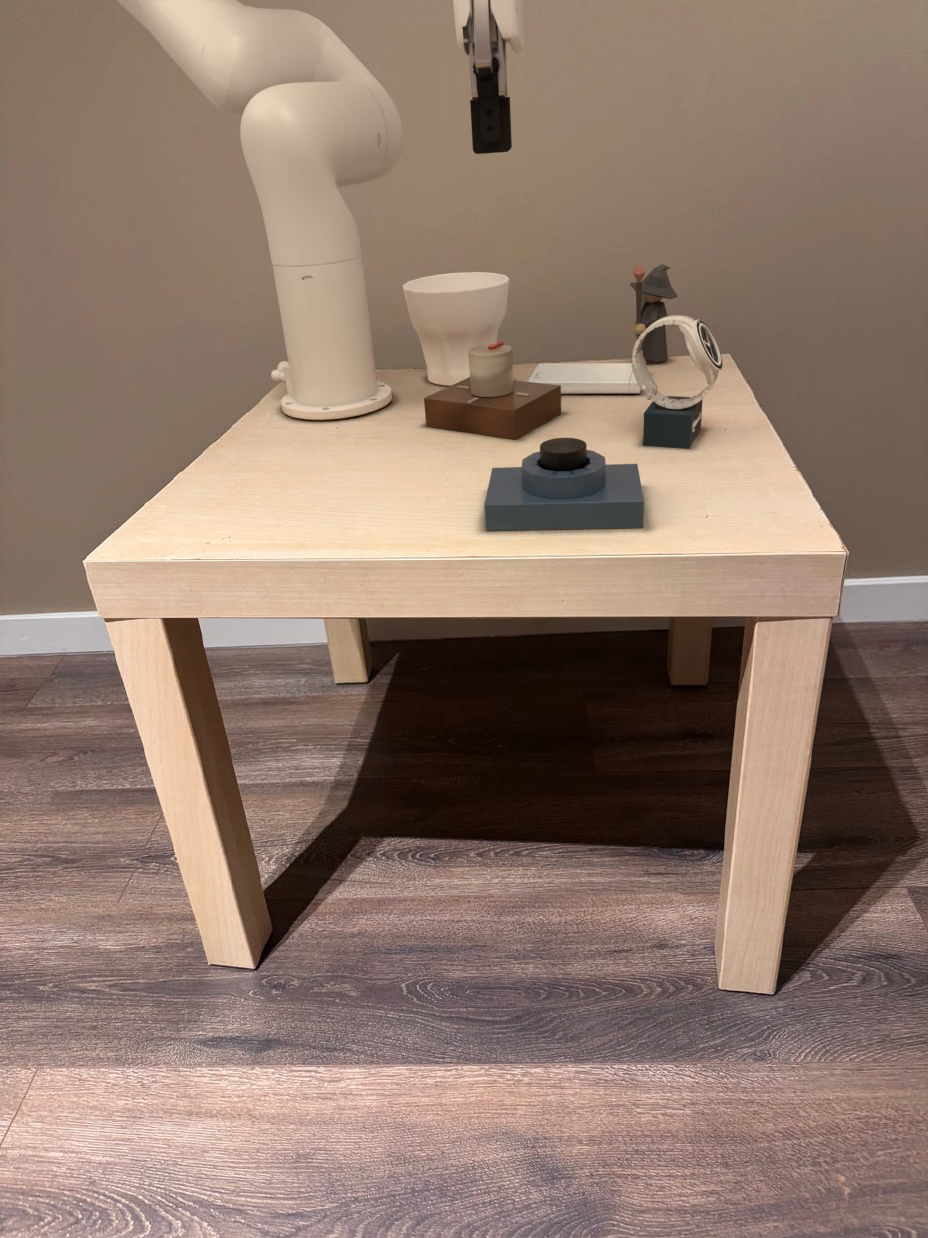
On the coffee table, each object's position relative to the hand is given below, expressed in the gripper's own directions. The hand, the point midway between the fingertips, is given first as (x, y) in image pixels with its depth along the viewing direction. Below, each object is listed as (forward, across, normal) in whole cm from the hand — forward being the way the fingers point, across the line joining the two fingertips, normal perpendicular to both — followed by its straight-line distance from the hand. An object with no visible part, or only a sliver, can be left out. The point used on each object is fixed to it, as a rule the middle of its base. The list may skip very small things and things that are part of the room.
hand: (492, 151), depth 77 cm
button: (+21, -18, -6) cm, 29 cm away
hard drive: (+25, +17, -8) cm, 32 cm away
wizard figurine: (+25, +25, -16) cm, 39 cm away
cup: (+25, +23, +7) cm, 35 cm away
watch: (+25, -2, -16) cm, 30 cm away
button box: (+25, -18, -6) cm, 32 cm away
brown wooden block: (+25, +5, +2) cm, 26 cm away
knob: (+22, +5, +2) cm, 23 cm away
